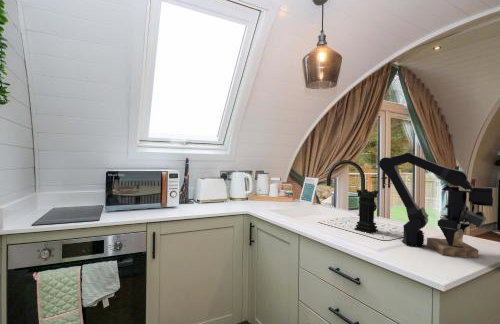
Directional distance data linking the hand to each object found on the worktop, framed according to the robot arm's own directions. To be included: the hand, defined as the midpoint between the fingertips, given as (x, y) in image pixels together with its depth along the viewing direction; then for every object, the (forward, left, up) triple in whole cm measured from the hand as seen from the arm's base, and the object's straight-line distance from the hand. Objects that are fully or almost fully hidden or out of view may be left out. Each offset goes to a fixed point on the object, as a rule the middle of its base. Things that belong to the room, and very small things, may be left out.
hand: (455, 243), depth 103 cm
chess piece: (-26, +26, -4) cm, 37 cm away
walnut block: (0, +3, -4) cm, 5 cm away
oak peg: (0, 0, -4) cm, 4 cm away
